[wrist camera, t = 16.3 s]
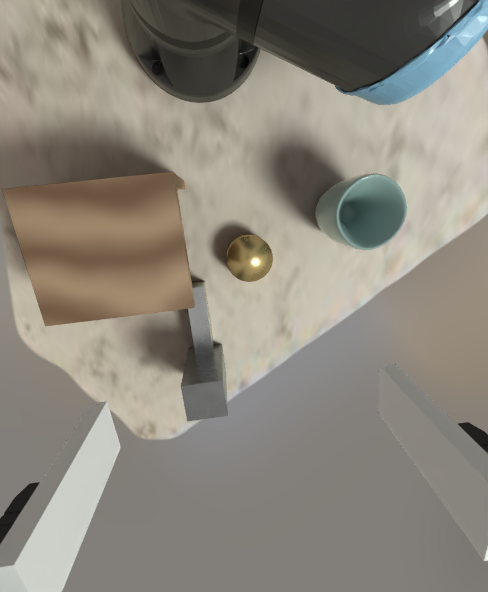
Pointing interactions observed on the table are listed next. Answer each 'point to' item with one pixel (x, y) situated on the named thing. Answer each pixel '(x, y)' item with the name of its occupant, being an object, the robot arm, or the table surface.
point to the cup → (362, 211)
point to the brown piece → (103, 246)
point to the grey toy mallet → (203, 365)
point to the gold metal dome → (249, 258)
